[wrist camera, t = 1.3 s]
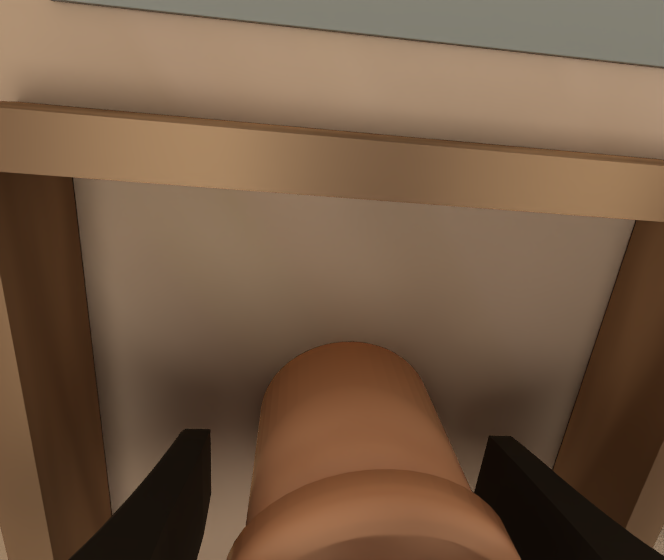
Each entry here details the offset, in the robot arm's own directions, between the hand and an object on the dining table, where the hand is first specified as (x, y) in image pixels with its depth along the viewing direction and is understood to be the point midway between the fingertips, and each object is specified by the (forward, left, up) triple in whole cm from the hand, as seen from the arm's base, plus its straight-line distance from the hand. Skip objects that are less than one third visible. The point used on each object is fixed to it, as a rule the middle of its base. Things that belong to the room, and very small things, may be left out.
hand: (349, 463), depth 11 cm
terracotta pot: (0, 0, -2) cm, 2 cm away
